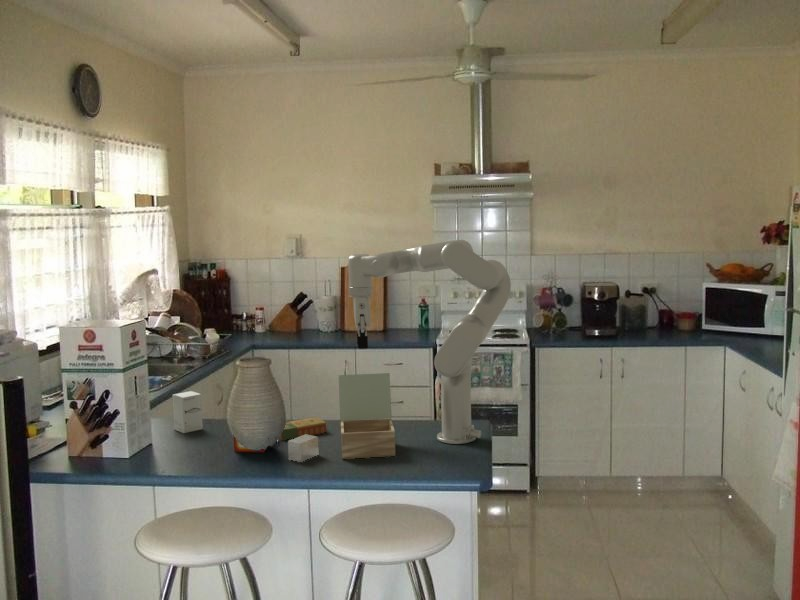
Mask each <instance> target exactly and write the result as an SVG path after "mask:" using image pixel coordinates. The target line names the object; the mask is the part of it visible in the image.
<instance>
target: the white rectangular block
mask: <svg viewBox="0 0 800 600" xmlns="http://www.w3.org/2000/svg"><path fill="white" fill-rule="evenodd" d="M287 449H288V452H287V453H288V454H287V455H288V461H291V460H293V462H295V461H297V462H296V463H300V462H302V463H304V462H306V461H305V460H307V459H309V460H311V459H313V458H312V457H314V456H316V457H318V456H317V455H319V436H316V435H307V434H305V435H302V436H300V437H297V438H294V439H289V440H287ZM319 456H320V455H319ZM310 458H311V459H310ZM314 458H315V457H314ZM303 461H304V462H303ZM307 461H308V460H307Z"/></svg>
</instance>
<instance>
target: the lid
mask: <svg viewBox="0 0 800 600" xmlns="http://www.w3.org/2000/svg"><path fill="white" fill-rule="evenodd" d="M338 395H339V396H338V398H339V420H340V422H341V421H351V420H373V419H392V418H393V416H392V399H391V398H392V395H391V377H390V372H387V373H386V372H384V373H383V372H382V373H364V374H363V373H358V374H357V373H356V374H338Z"/></svg>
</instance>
